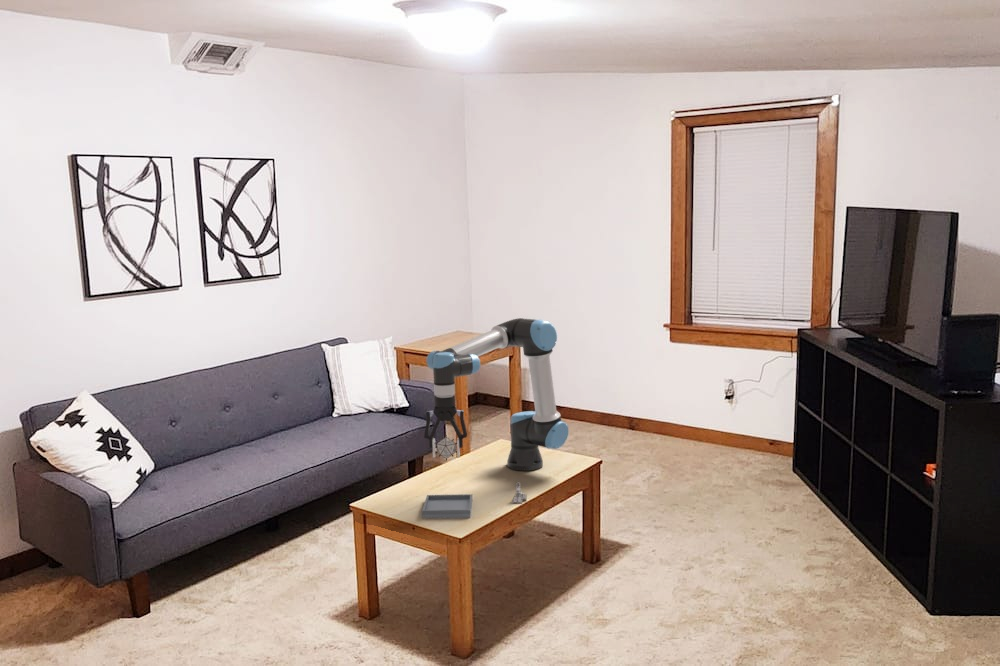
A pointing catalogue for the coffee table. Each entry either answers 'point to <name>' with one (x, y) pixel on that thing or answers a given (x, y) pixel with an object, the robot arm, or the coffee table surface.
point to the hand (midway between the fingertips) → (446, 456)
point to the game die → (446, 447)
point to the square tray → (447, 506)
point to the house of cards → (519, 495)
